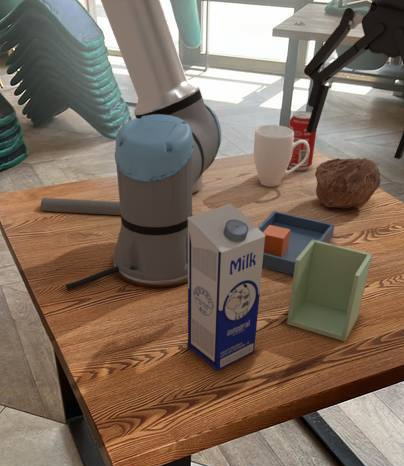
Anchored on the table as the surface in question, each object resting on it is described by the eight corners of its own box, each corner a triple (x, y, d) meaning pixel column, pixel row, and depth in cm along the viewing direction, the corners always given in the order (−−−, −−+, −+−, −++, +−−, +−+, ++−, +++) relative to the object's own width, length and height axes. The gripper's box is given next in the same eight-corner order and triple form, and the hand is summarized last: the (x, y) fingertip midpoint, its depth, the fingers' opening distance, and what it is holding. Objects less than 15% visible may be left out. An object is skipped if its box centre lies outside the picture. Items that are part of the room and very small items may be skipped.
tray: (301, 277, 97) (303, 264, 95) (236, 260, 101) (237, 247, 100) (332, 236, 109) (334, 224, 107) (272, 222, 113) (274, 210, 111)
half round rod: (136, 216, 114) (135, 208, 113) (40, 211, 115) (38, 202, 114) (139, 207, 117) (139, 199, 116) (46, 202, 118) (45, 194, 117)
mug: (249, 188, 126) (252, 135, 119) (253, 174, 132) (257, 123, 125) (303, 193, 124) (311, 140, 117) (305, 179, 131) (312, 127, 123)
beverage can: (310, 162, 139) (317, 110, 131) (311, 172, 134) (319, 119, 126) (284, 161, 139) (290, 109, 132) (284, 171, 134) (290, 117, 127)
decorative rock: (376, 198, 123) (387, 151, 117) (372, 220, 115) (383, 171, 108) (316, 189, 126) (322, 143, 120) (307, 210, 118) (314, 162, 111)
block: (269, 224, 102) (261, 233, 99) (290, 229, 101) (283, 238, 98) (267, 244, 105) (259, 254, 102) (288, 249, 103) (281, 259, 101)
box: (302, 301, 91) (312, 239, 84) (358, 317, 88) (372, 253, 81) (286, 324, 86) (295, 259, 79) (344, 341, 83) (359, 276, 76)
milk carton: (224, 329, 85) (231, 201, 72) (255, 351, 81) (267, 220, 68) (186, 347, 81) (186, 216, 69) (216, 371, 77) (222, 236, 65)
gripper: (508, 1, 74) (439, 166, 84) (327, -36, 81) (284, 120, 92) (508, -8, 68) (433, 171, 78) (312, -48, 75) (268, 122, 86)
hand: (353, 144), depth 85 cm, fingers open, 13 cm apart
